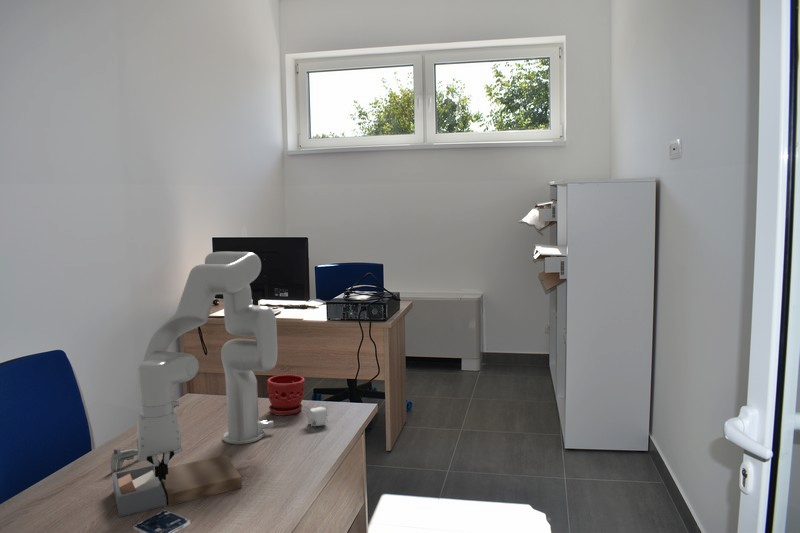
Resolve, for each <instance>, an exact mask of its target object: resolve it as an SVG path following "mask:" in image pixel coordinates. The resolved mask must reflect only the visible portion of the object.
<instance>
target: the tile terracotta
mask: <svg viewBox="0 0 800 533" xmlns="http://www.w3.org/2000/svg"><path fill="white" fill-rule="evenodd" d="M118 484H119V488H120V490H121V492H122V494H127V493H132V492H136V489H135V486H134V482H133V479H132V477H131V475H130V474H128V475H126V476H124V477H122V478H120V479H118Z"/></svg>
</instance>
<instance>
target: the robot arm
mask: <svg viewBox="0 0 800 533" xmlns="http://www.w3.org/2000/svg"><path fill="white" fill-rule="evenodd" d="M261 270H262V261H261V258H260V257H259V256H258V255H257V254H256V253H254V252H250V251H215V252H210V253H208V254H207V255H206V257H205V258H204V264H197V265H195V266H193V267H192V268H191V270H190V271H189V273H188V276H187V280H186V282H185V285H184V288H183V290H182V294H181V297H180V298H179V299H180V300H179V303H178V306H177V308H176V311H175V312H174V314H172V315H171V316H170V317H169V318H168V319H167V320H166V321H164V322H163V323H162V324H161V326H159V327H158V328H157V329H156V331H155V332H154V333H153V335H152V336H151V338H150V340H149V343H148V345H147V347H146V350H145V354H144V357H143V360H142V361H143V362H141V363H140V364H139V367H138V382H139V383H138V385H139V398H140V413H141V414H139V415H137V423H136V447H137V449H138V455H136V456H137V457H136V458H137V461H138V462H149V463H150V464H151V465H152V464H153V465H154V474H155V477H158V479H159V481H162V479H164V480H166V475H167V474H168V468H169V467H168V466H169V465H168V464H169V463H170V460H171V459H172V458H173V457H174V456H175V455H178V454H180V453H182V452H183V447H182V435H181V428H180V427H181V426H180V422H179V421H180V420H179V418H178V413H177V410H176V409H175V408H177V407H179V406H180V402H179V400H174V399H173V396H174V395H173V386H174V385H177V384H181V383H183V384H184V383H186V382H189V381H191V380H192V379H193V378H195V376H196V375H197V374H198V371H199V368H200V363H199V361H198V359H197V357H196V356H194V355H193V354H190V353H185V352H175V351H169V349H170V347H171V345H172V344H173V343H174V342H175V341H176V340H177V339H178V338H179V337H180V336H183V334H185V333H186V334H187V333H188V332H191V331H192V330H194V329H197V328H199V327H200V326H203V325H205V324H206V323H207V321H208V320H209V316H210V314H211V309H212V307H213V302H214V300H215V297H216V295H222V296H223V297H222V298H223V314H224V316H223V317H224V326H225V329H226V332H227V333H229V334H230V335H234V336H245V337H255V339H251V338H250V339H249V338H233V339H230V340H228V341H226V342H224V344H223V346H222V347H221V352H220V359H221V363H222V366H223V371H224V378H225V392H226V393H225V394H226V395H225V396H226V397H225V398H226V413H227V414H226V415H227V420H226V421H227V431H225V432H224V433H223V436H222V439H223V441H224V442H225V443H226V444H231V445H246V444H251V443H255V442H257V441H259V440H261V439H262V438H264V436H265V431H264V430H265V429H267V428H268V429H270V428H274V425H275V423H274V420H269V421H268V420H267V419H266V420H265V419H264V420H262V421H261V420H259V419H260V418H259V397H258V380H257V378H256V375H255V373H254V372H269V371H271V370H273V369H274V368H275V367H276V365H277V361H278V332H277V331H278V329H277V328H278V326H277V317H276V315H275V312H274V311H273V309H272V308H271V307H269V306H266V305H258V304H257V305H255V304H254V303H253V298H252V296H253V295H252V290H251V289H252V288H251V283H253V282H254V281H255V280H256V279H257V278H258V276H260V273H261ZM161 454H162V459H161V460H159V456H158V455H161Z"/></svg>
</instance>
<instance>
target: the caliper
mask: <svg viewBox="0 0 800 533" xmlns="http://www.w3.org/2000/svg"><path fill="white" fill-rule="evenodd" d="M136 456H138V448H137V449H134V448H131V449H126V450H121V448H117V449H113V453H111V457H110V472H112V473H115V472H117V471H122V467H123V465H124V461H125V460H126V461H130V460H133V459H134V457H136Z"/></svg>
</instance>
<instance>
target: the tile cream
mask: <svg viewBox="0 0 800 533" xmlns="http://www.w3.org/2000/svg"><path fill="white" fill-rule="evenodd" d="M133 482H134V486H135V489H136V491H140V490H144V489H149V488H153V487H157V486H159V484H158V481H157V478H156V477H155V471H154V472H153V470H152V471H150V472H148V473H146V474H144V475H142V476H140V477H138V478H136V479H134V480H133Z"/></svg>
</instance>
